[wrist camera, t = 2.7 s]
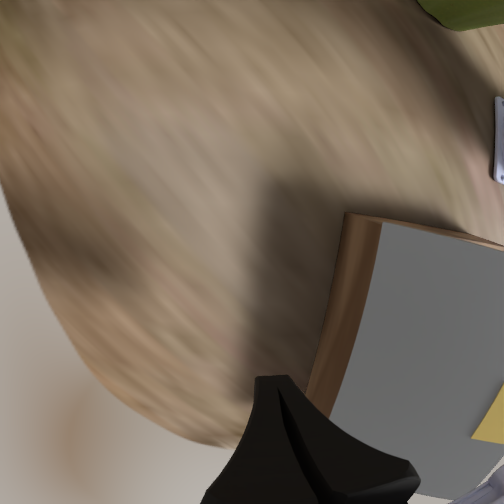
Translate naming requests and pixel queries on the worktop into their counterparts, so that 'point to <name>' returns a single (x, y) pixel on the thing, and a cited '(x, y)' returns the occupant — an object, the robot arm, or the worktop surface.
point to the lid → (430, 360)
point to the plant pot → (465, 13)
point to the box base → (354, 301)
